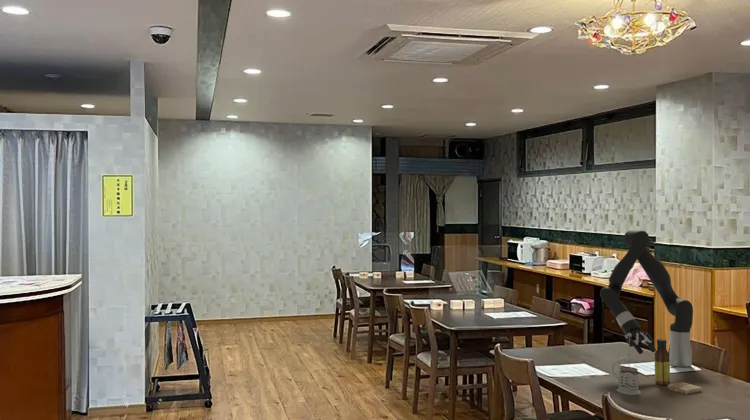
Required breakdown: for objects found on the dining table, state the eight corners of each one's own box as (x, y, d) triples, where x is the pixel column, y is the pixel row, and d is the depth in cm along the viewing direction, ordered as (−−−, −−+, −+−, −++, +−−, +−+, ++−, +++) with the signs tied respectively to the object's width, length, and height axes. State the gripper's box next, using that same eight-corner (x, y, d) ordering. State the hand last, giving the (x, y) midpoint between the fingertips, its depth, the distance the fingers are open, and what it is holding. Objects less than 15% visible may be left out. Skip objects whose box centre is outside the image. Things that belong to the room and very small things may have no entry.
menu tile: (667, 384, 280) (686, 390, 272) (682, 382, 285) (701, 387, 277) (667, 389, 280) (686, 395, 272) (682, 386, 285) (701, 392, 277)
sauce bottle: (669, 382, 290) (670, 338, 290) (670, 386, 284) (671, 341, 284) (653, 381, 292) (654, 337, 292) (654, 384, 286) (655, 340, 286)
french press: (638, 396, 269) (639, 336, 269) (609, 391, 275) (610, 333, 275) (642, 390, 278) (643, 332, 277) (614, 386, 284) (615, 329, 283)
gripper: (622, 319, 299) (642, 349, 290) (642, 317, 306) (663, 346, 296) (612, 328, 304) (632, 358, 294) (633, 326, 311) (653, 355, 301)
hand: (648, 352), depth 295 cm, fingers open, 8 cm apart
